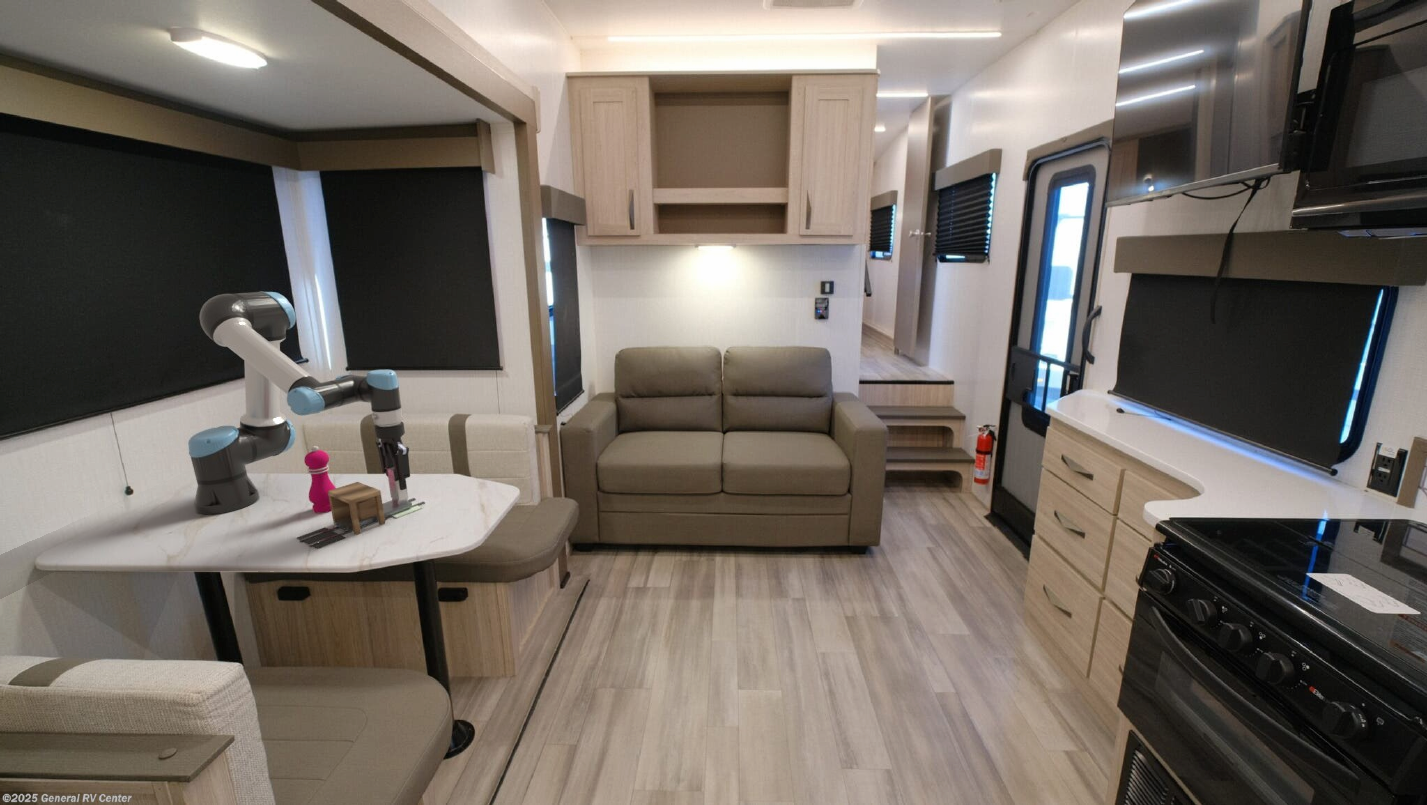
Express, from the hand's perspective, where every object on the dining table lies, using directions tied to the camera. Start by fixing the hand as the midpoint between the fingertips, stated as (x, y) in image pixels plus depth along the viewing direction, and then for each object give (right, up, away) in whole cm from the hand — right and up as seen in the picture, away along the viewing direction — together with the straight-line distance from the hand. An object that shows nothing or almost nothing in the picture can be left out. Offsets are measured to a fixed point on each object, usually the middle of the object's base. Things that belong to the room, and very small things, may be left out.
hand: (399, 497), depth 171 cm
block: (-5, -4, -8) cm, 10 cm away
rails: (-5, -6, -7) cm, 11 cm away
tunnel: (-6, -6, -9) cm, 13 cm away
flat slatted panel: (-12, -8, -17) cm, 22 cm away
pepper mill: (-23, -4, 0) cm, 23 cm away
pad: (0, -4, 0) cm, 4 cm away
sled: (-4, -4, -6) cm, 8 cm away
